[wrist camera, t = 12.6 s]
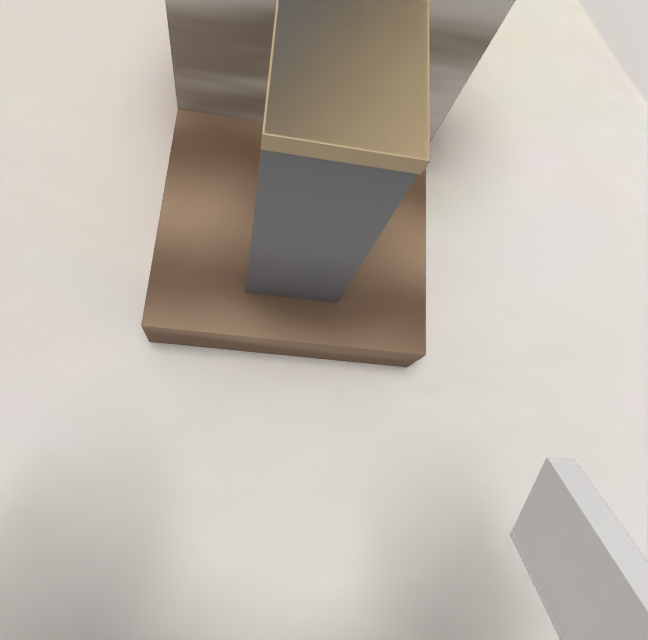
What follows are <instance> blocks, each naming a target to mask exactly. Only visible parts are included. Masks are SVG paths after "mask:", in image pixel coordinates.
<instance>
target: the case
mask: <svg viewBox="0 0 648 640" xmlns="http://www.w3.org/2000/svg"><path fill="white" fill-rule="evenodd" d="M260 149H261V155H260V163H259V172H258V180H257V189H256V198H255V207H254V216H253V226H252V235H251V244H250V253H249V262H248V272H247V281H246V290H245V293H253V294H262V295H271V296H279V297H288V298H297V299H305V300H314V301H323V302H331V303H338V301H339V300H340V298H341V297H342V295H343V293H344V292H345V290H346V289H347V287H348V285H349V284H350V282H351V281H352V279H353V278H354V276H355V274H356V273H357V271H358V270H359V268H360V266H361V265H362V263H363V262H364V260H365V258H366V257H367V255H368V254H369V252H370V250H371V249H372V247H373V246H374V244H375V242H376V241H377V239H378V238H379V236H380V234H381V233H382V231H383V230H384V228H385V226H386V225H387V223H388V222H389V220H390V218H391V217H392V215H393V214H394V212H395V210H396V209H397V207H398V206H399V204H400V202H401V201H402V199H403V198H404V196H405V194H406V193H407V191H408V190H409V188H410V187H411V185H412V183H413V182H414V180H415V179H416V177H417V175H418V174H422V172H423V171H424V169H425V168H426V166H427V164H428V163H429V161H430V117H429V1H428V0H277V2H276V11H275V20H274V29H273V38H272V48H271V57H270V66H269V75H268V84H267V93H266V103H265V112H264V121H263V130H262V139H261V148H260Z"/></svg>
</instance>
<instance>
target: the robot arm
mask: <svg viewBox="0 0 648 640" xmlns="http://www.w3.org/2000/svg"><path fill="white" fill-rule="evenodd" d="M510 536H511V538H512V540H513V542H514V544H515V546H516V548H517V550H518V553H519V555H520V557H521V559H522V561H523V563H524V565H525V567H526V569H527V571H528V573H529V576H530V578H531V580H532V582H533V584H534V586H535V588H536V590H537V592H538V594H539V596H540V598H541V601H542V603H543V605H544V607H545V609H546V611H547V613H548V615H549V617H550V619H551V621H552V624H553V626H554V628H555V630H556V632H557V634H558V636H559V638H560V640H648V560H647V559H646V558H645V556H644V555H643V553H642V552H641V551H640V549H639V548H638V546H637V545H636V544H635V542H634V541H633V539H632V538H631V537H630V535H629V534H628V532H627V531H626V530H625V528H624V527H623V525H622V524H621V523H620V521H619V520H618V518H617V517H616V516H615V514H614V513H613V511H612V510H611V509H610V507H609V506H608V504H607V503H606V502H605V500H604V499H603V497H602V496H601V495H600V493H599V492H598V490H597V489H596V488H595V486H594V485H593V483H592V482H591V481H590V479H589V478H588V476H587V475H586V474H585V472H584V471H583V469H582V468H581V467H580V465H579V464H578V462H577V461H576V460H575V459H568V458H554V457H547V458H546V460H545V462H544V464H543V466H542V468H541V470H540V473H539V475H538V477H537V479H536V481H535V483H534V485H533V487H532V489H531V492H530V494H529V496H528V498H527V500H526V502H525V504H524V506H523V508H522V511H521V513H520V515H519V517H518V519H517V521H516V523H515V525H514V527H513V530H512V532H511V534H510Z"/></svg>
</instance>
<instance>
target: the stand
mask: <svg viewBox="0 0 648 640" xmlns="http://www.w3.org/2000/svg"><path fill="white" fill-rule="evenodd" d="M428 1H429V117H430V141H431V140H432V138H433V136H434V135H435V133H436V131H437V130H438V128H439V126H440V125H441V123H442V122H443V120H444V118H445V117H446V115H447V113H448V112H449V110H450V108H451V107H452V105H453V103H454V102H455V100H456V98H457V97H458V95H459V93H460V92H461V90H462V88H463V87H464V85H465V83H466V82H467V80H468V78H469V77H470V75H471V73H472V72H473V70H474V68H475V67H476V65H477V63H478V62H479V60H480V58H481V57H482V55H483V53H484V52H485V50H486V49H487V47H488V45H489V44H490V42H491V40H492V39H493V37H494V35H495V34H496V32H497V30H498V29H499V27H500V25H501V24H502V22H503V20H504V19H505V17H506V15H507V14H508V12H509V10H510V9H511V7H512V5H513V4H514V2H515V0H428ZM165 2H166V11H167V19H168V28H169V37H170V45H171V54H172V63H173V71H174V80H175V88H176V97H177V106H178V111H177V117H176V123H175V129H174V135H173V141H172V147H171V153H170V159H169V165H168V170H167V176H166V182H165V188H164V194H163V200H162V206H161V212H160V218H159V224H158V230H157V236H156V242H155V248H154V254H153V260H152V265H151V271H150V277H149V283H148V289H147V295H146V301H145V307H144V313H143V319H142V325H141V326H142V328H143V330H144V332H145V334H146V336H147V338H148V340H149V341H150V342H160V343H170V344H180V345H190V346H200V347H210V348H220V349H230V350H240V351H250V352H261V353H271V354H281V355H291V356H301V357H311V358H321V359H331V360H341V361H351V362H361V363H372V364H382V365H392V366H402V367H408V366H410V365H411V364H413V363H414V362H416V361H417V360H419V359H420V358H422V357H423V356H425V355H426V168H425V169H424V171H423V172H422V174H418V175H417V177H416V179H415V180H414V182H413V183H412V185H411V187H410V188H409V190H408V191H407V193H406V194H405V196H404V198H403V199H402V201H401V202H400V204H399V206H398V207H397V209H396V210H395V212H394V214H393V215H392V217H391V218H390V220H389V222H388V223H387V225H386V226H385V228H384V230H383V231H382V233H381V234H380V236H379V238H378V239H377V241H376V242H375V244H374V246H373V247H372V249H371V250H370V252H369V254H368V255H367V257H366V258H365V260H364V262H363V263H362V265H361V266H360V268H359V270H358V271H357V273H356V274H355V276H354V278H353V279H352V281H351V282H350V284H349V285H348V287H347V289H346V290H345V292H344V293H343V295H342V297H341V298H340V300H339V301H338V303H331V302H323V301H314V300H305V299H297V298H288V297H279V296H271V295H262V294H253V293H245V290H246V281H247V272H248V262H249V253H250V244H251V235H252V226H253V216H254V207H255V198H256V189H257V180H258V172H259V163H260V155H261V149H260V148H261V139H262V130H263V121H264V112H265V103H266V93H267V84H268V75H269V66H270V57H271V48H272V38H273V29H274V20H275V11H276V2H277V0H165Z"/></svg>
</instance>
